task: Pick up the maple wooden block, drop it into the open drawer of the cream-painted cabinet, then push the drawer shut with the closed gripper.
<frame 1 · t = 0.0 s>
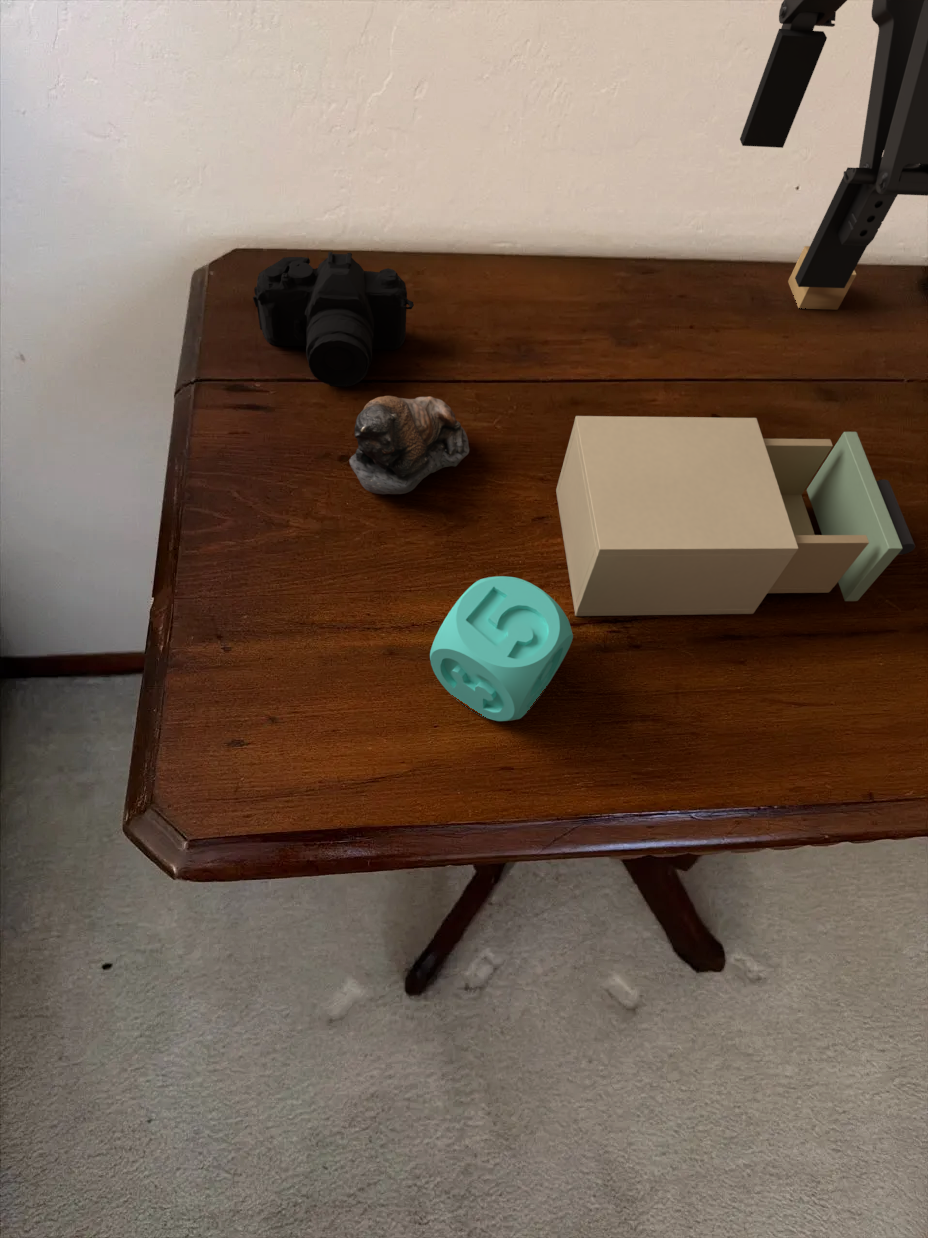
hand: (788, 209, 53), 31 cm above the table, tool pointing down, fingers open, 13 cm apart
cabinet: (651, 550, 78), on the table
block: (812, 295, 99), on the table
drawer: (799, 516, 75), point 5 cm above the table, slide at 8.0 cm
bison figurine: (411, 472, 81), on the table
decorative dice: (495, 674, 71), on the table
film camera: (335, 356, 88), on the table
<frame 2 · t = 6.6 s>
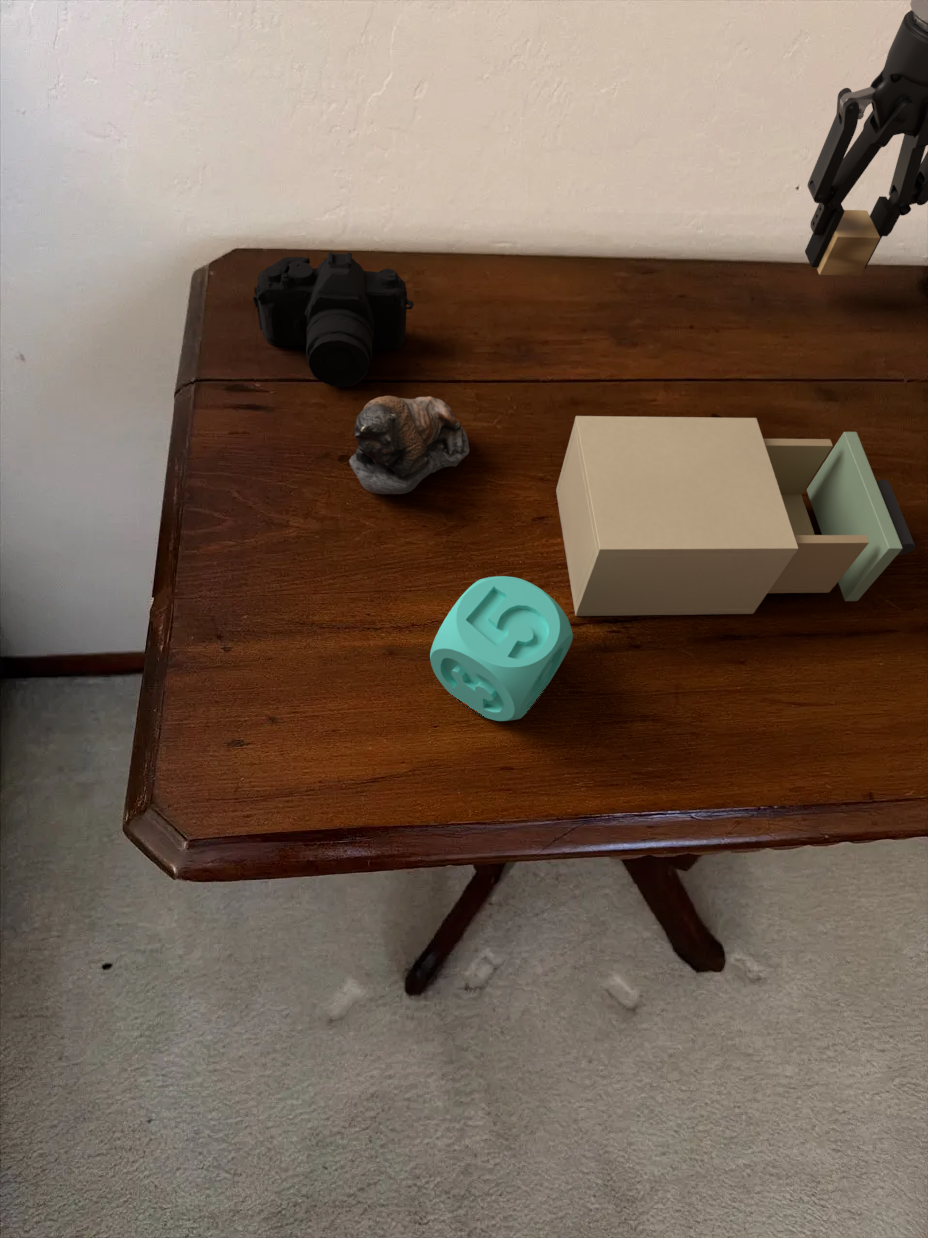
hand: (835, 259, 95), 5 cm above the table, tool pointing down, fingers closed on block, 5 cm apart
block: (833, 261, 95), point 5 cm above the table, touching gripper
everything else where it was.
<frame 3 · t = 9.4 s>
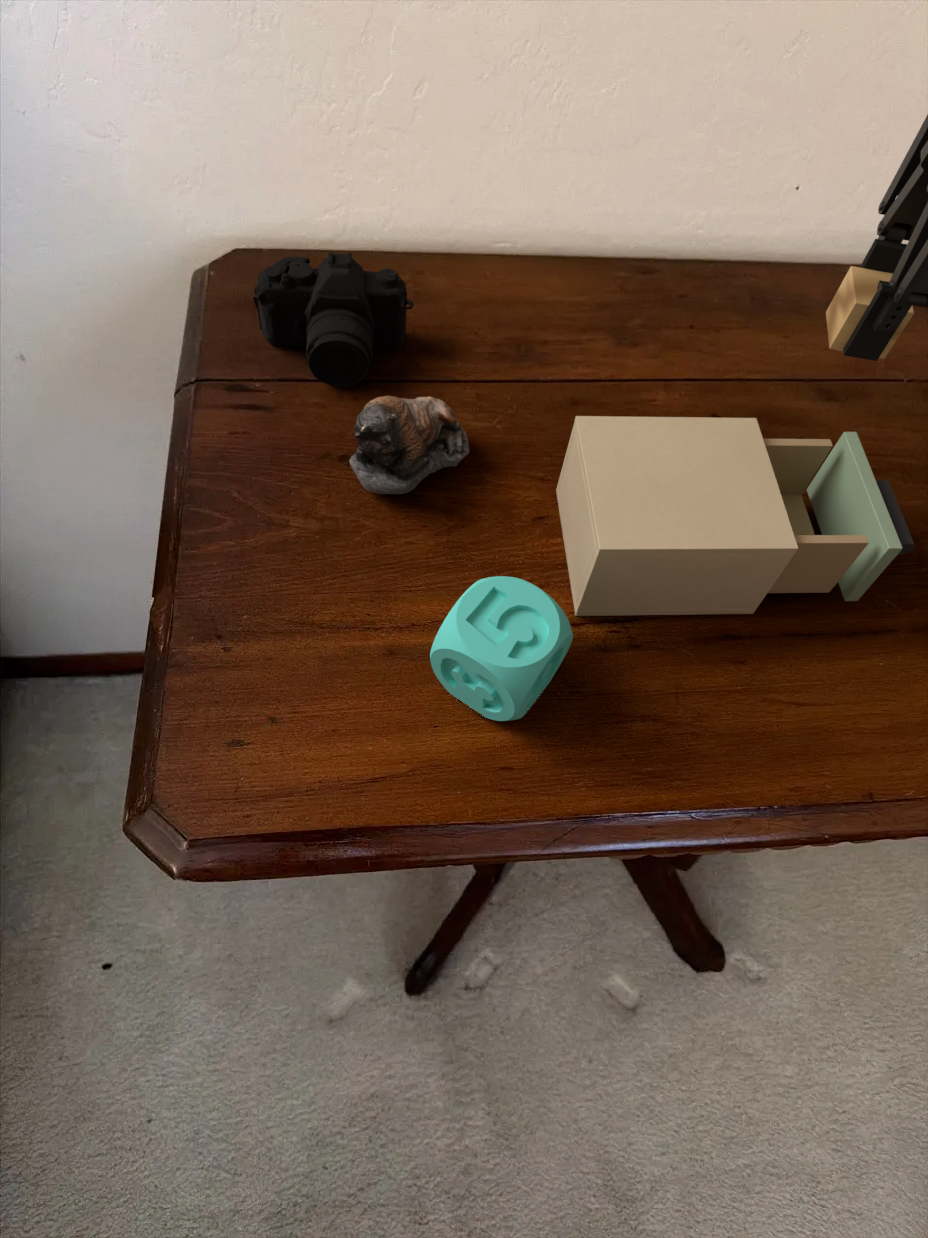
hand: (857, 332, 73), 15 cm above the table, tool pointing down, fingers closed on block, 5 cm apart
block: (854, 335, 73), point 15 cm above the table, touching gripper
everything else where it was.
when the fingers open (9 cm above the table, at t = 12.3 s): block drops 6 cm, resting on drawer.
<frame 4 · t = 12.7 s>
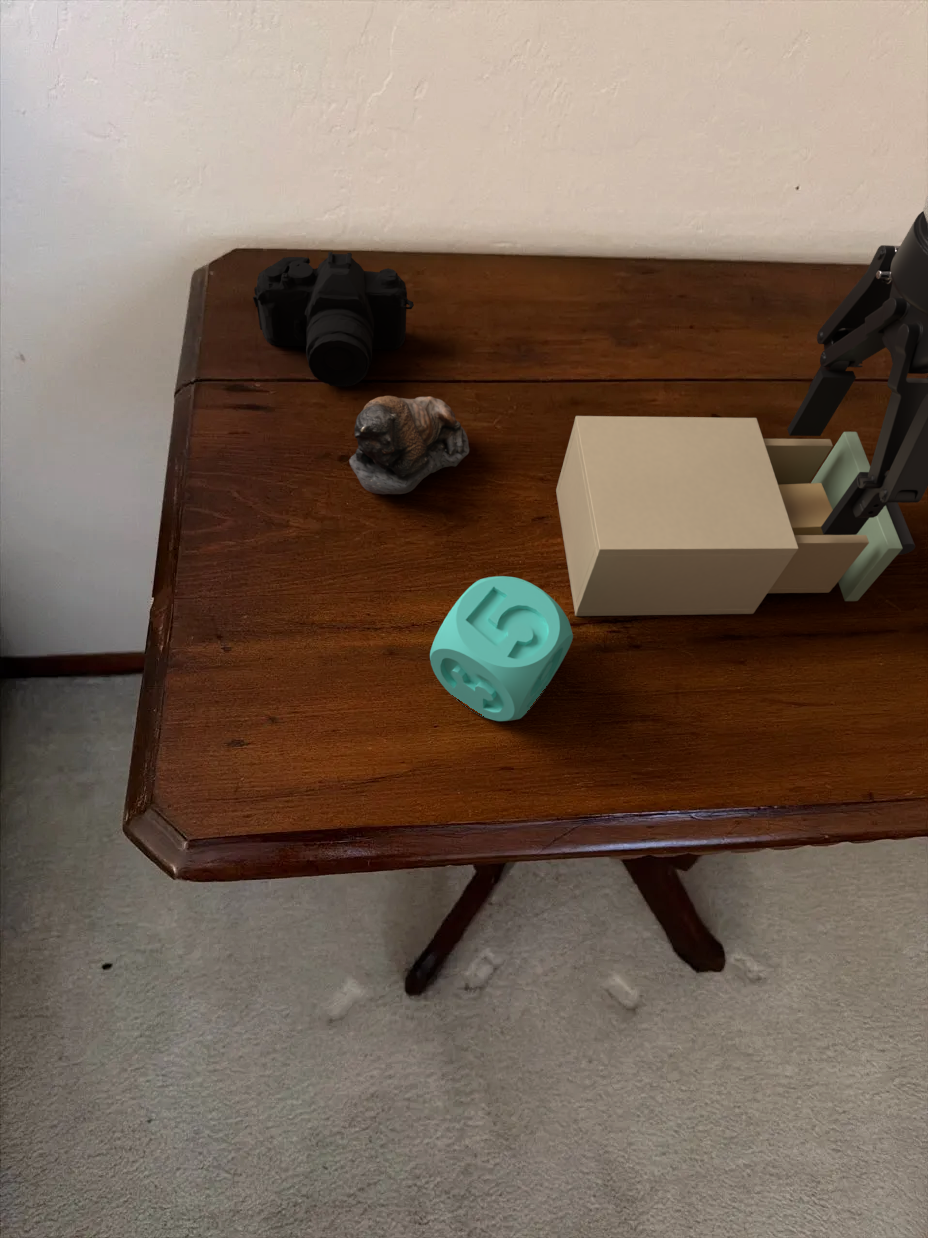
hand: (820, 479, 71), 10 cm above the table, tool pointing down, fingers open, 10 cm apart
block: (783, 537, 78), point 2 cm above the table, touching drawer
drawer: (799, 516, 75), point 5 cm above the table, slide at 8.0 cm, touching block
everything else where it was.
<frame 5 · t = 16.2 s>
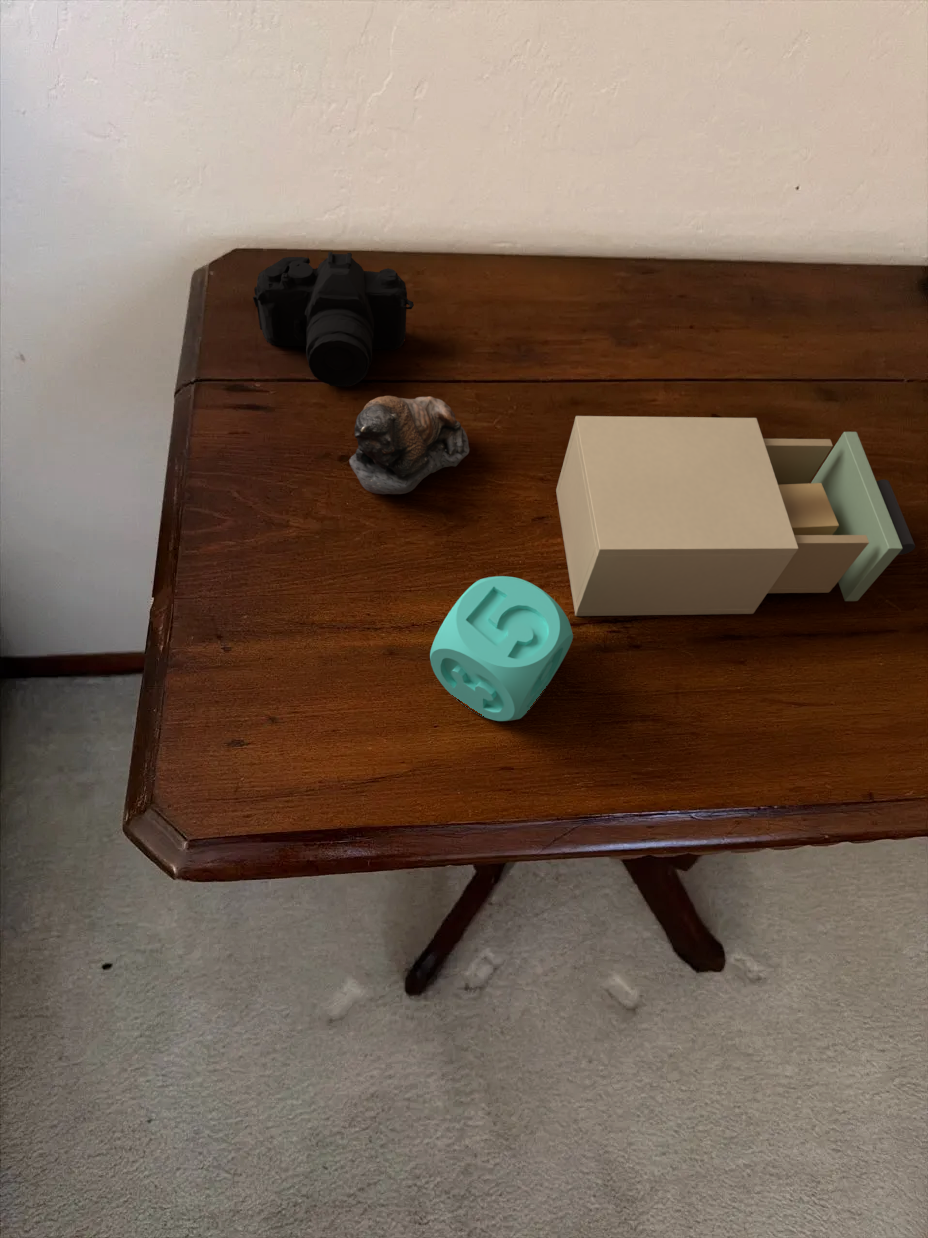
nothing on the table moved.
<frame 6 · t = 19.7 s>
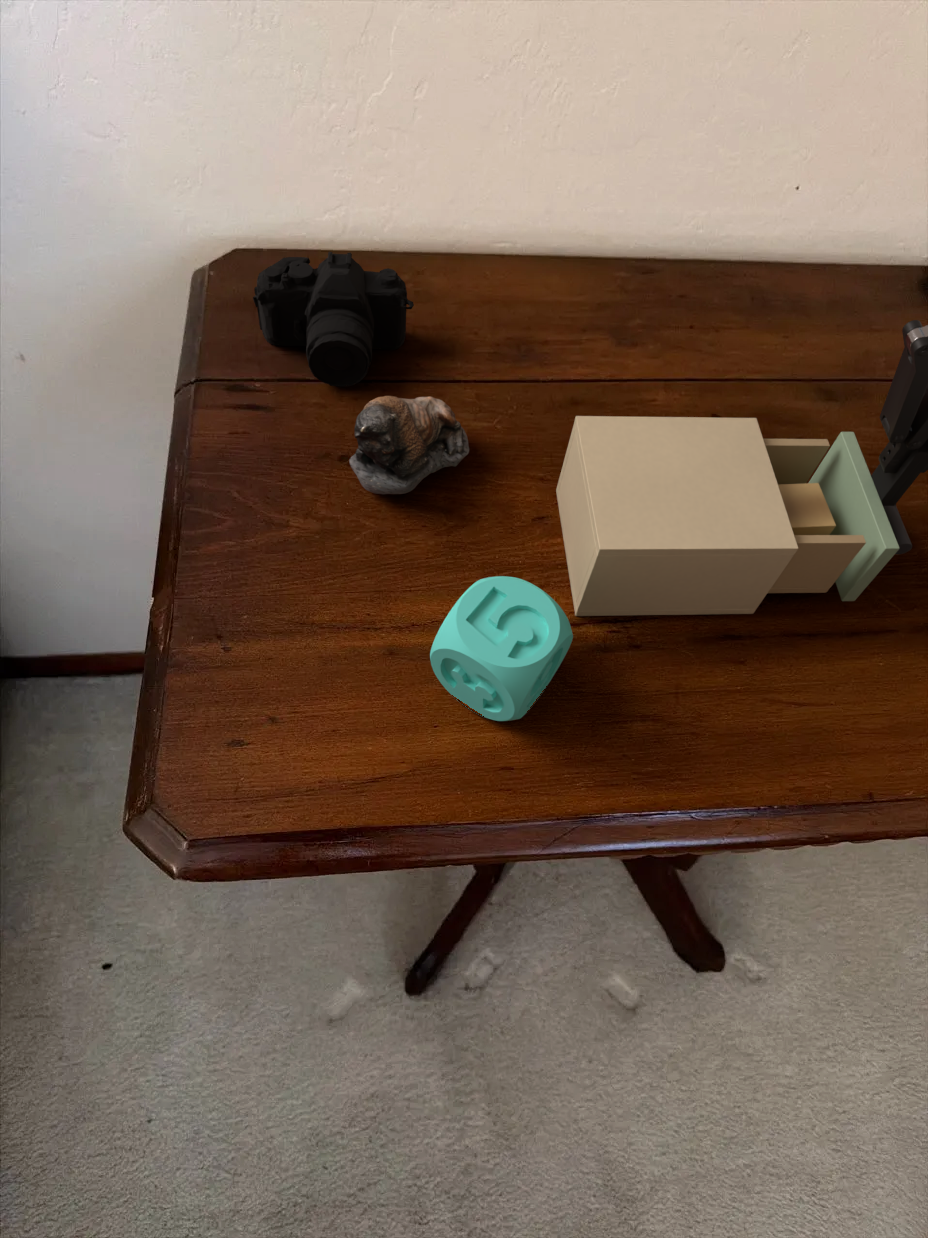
hand: (880, 492, 73), 8 cm above the table, tool pointing down, fingers closed
drawer: (796, 516, 75), point 5 cm above the table, slide at 7.7 cm, touching block, gripper
everything else where it was.
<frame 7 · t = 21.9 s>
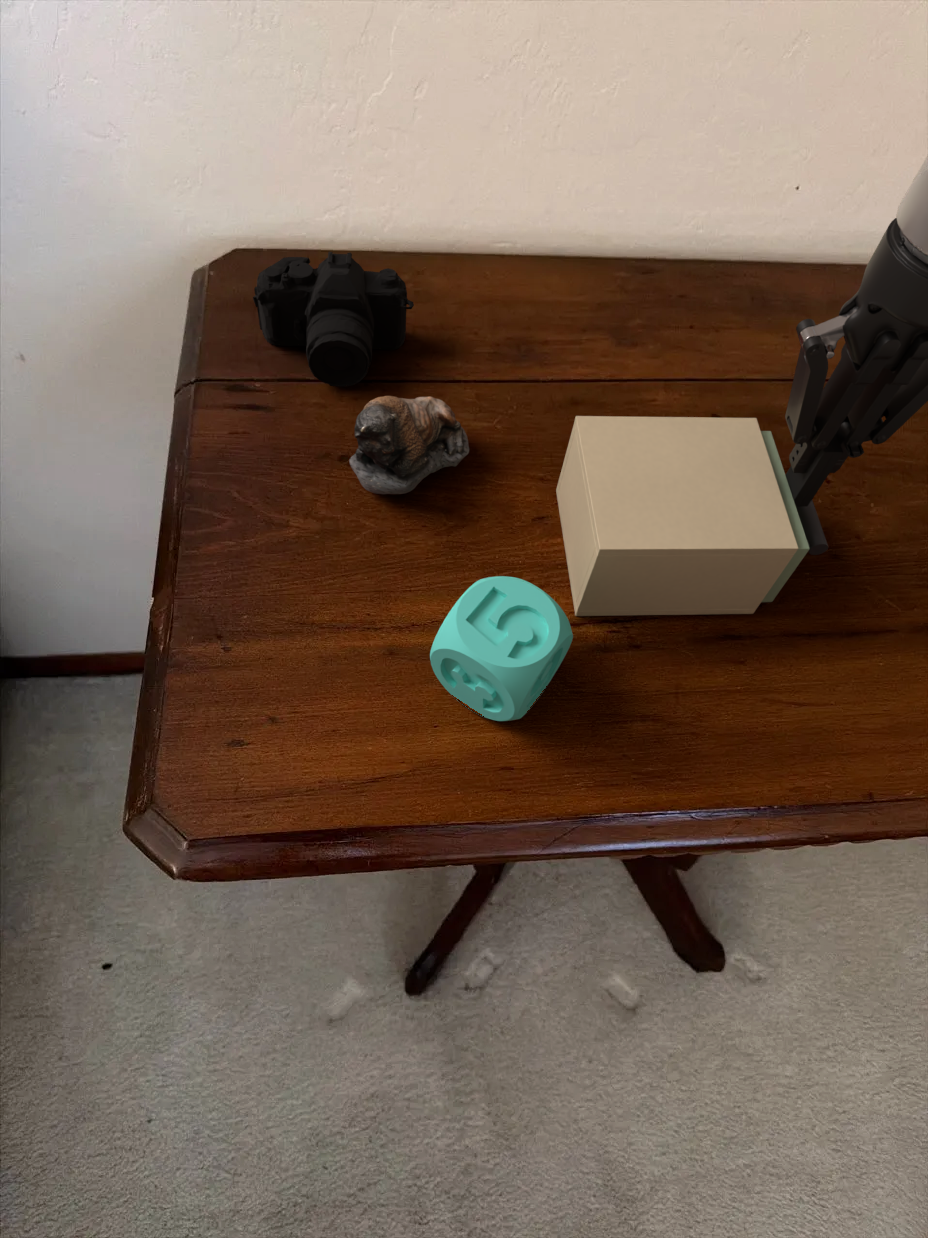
hand: (794, 493, 73), 8 cm above the table, tool pointing down, fingers closed
block: (698, 537, 77), point 2 cm above the table, touching drawer
drawer: (712, 516, 75), point 5 cm above the table, slide at 0.3 cm, touching block, gripper
everything else where it was.
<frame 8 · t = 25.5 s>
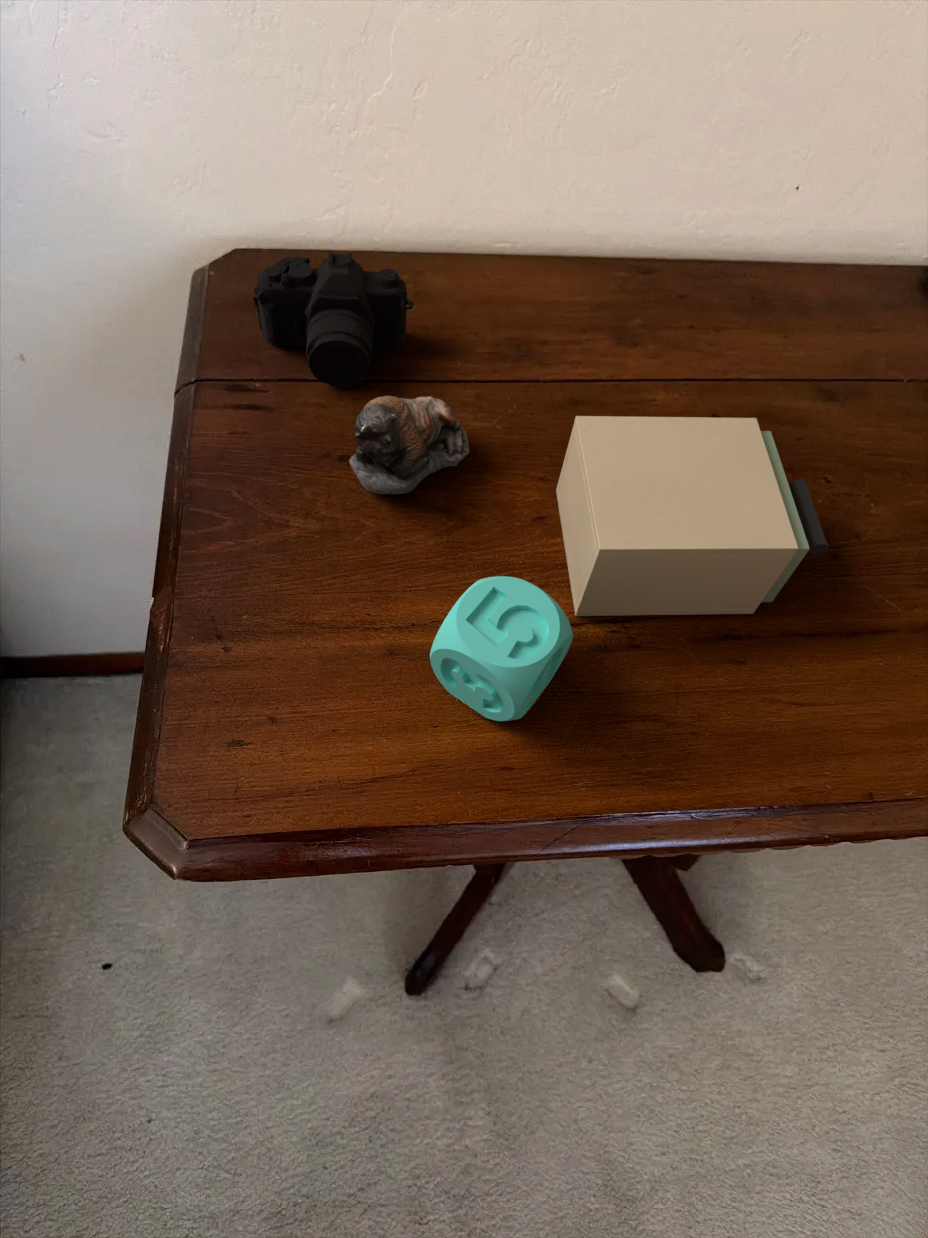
drawer: (712, 516, 75), point 5 cm above the table, slide at 0.3 cm, touching block
everything else where it was.
at the end: block inside the target area in the cabinet (3.7 cm from its centre), point 2.0 cm above the cabinet's base; drawer slide at 0.3 cm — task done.
